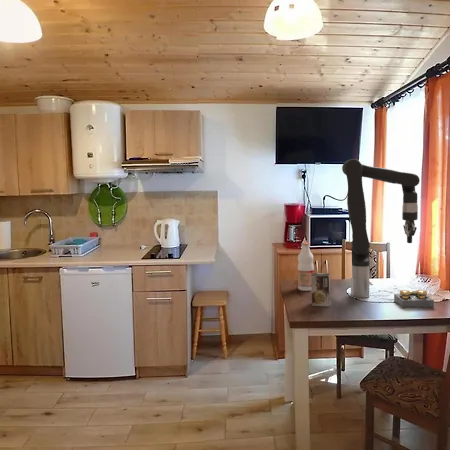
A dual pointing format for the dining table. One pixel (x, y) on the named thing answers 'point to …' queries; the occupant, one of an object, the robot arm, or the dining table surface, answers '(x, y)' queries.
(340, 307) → the dining table surface
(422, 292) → the brass knob
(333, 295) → the dining table surface
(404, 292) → the brass knob
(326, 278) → the coffee box
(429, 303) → the level base plate
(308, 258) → the fruit juice
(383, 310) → the dining table surface
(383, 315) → the dining table surface
